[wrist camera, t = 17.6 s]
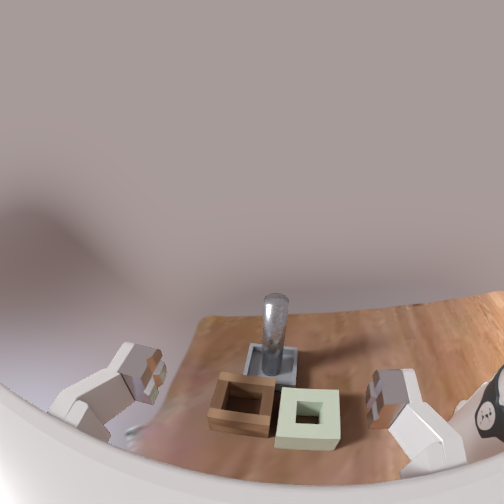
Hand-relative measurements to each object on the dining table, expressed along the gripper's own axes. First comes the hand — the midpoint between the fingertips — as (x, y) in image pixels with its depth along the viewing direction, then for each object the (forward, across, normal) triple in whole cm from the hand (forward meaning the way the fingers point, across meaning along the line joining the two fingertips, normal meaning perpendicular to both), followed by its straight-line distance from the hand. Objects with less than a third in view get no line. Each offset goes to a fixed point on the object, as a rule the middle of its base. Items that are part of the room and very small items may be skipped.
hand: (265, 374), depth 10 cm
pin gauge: (+23, +1, +29) cm, 37 cm away
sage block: (+13, -5, +29) cm, 32 cm away
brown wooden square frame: (+15, +4, +29) cm, 33 cm away
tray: (+23, +1, +29) cm, 37 cm away
